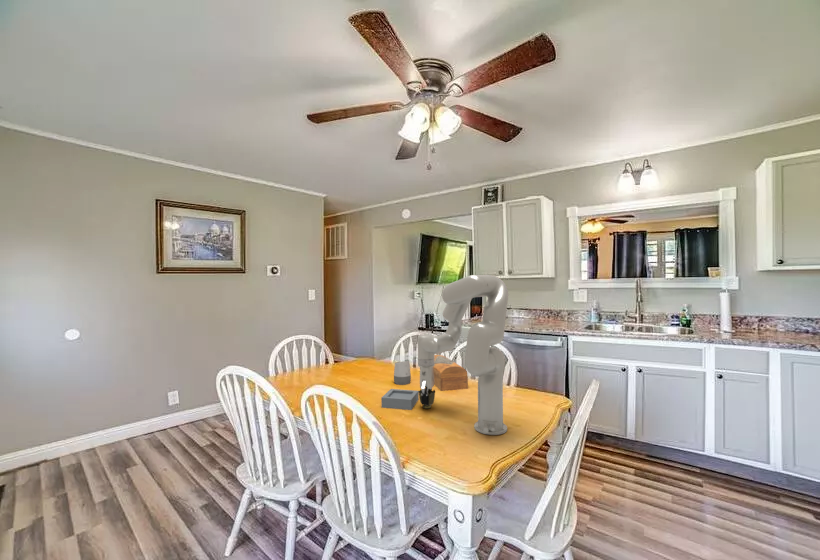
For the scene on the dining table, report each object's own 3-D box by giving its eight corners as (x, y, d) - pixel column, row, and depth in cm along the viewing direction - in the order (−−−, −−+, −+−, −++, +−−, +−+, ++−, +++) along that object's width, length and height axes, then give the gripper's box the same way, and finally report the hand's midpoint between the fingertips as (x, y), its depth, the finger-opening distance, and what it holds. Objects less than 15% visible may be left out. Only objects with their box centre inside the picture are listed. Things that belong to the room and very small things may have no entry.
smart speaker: (404, 381, 212) (404, 357, 212) (414, 385, 204) (413, 360, 204) (390, 384, 206) (390, 359, 206) (399, 388, 199) (399, 362, 199)
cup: (415, 408, 167) (415, 390, 167) (427, 404, 172) (427, 387, 172) (426, 412, 161) (426, 393, 161) (438, 408, 166) (438, 390, 166)
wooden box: (423, 378, 218) (422, 355, 218) (449, 377, 222) (449, 353, 222) (438, 393, 189) (437, 366, 189) (468, 391, 193) (468, 364, 193)
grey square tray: (411, 411, 164) (411, 399, 164) (381, 408, 168) (381, 397, 168) (418, 401, 178) (418, 390, 178) (390, 399, 182) (390, 388, 182)
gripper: (430, 366, 157) (431, 408, 157) (437, 358, 174) (438, 396, 174) (413, 366, 159) (414, 407, 159) (422, 358, 176) (423, 395, 176)
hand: (427, 401), depth 167 cm, fingers closed on cup, 7 cm apart
